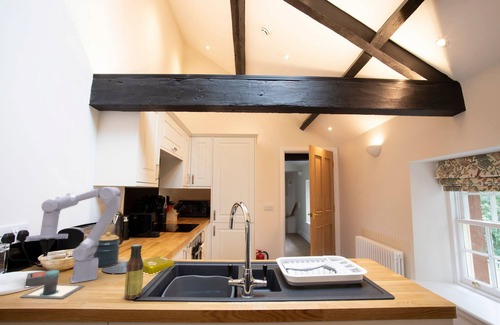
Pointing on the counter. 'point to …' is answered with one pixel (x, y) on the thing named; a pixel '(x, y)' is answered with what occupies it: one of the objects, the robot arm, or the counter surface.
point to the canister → (107, 250)
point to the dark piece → (50, 282)
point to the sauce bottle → (134, 273)
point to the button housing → (35, 280)
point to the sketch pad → (60, 293)
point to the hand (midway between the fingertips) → (45, 256)
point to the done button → (38, 274)
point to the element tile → (156, 264)
